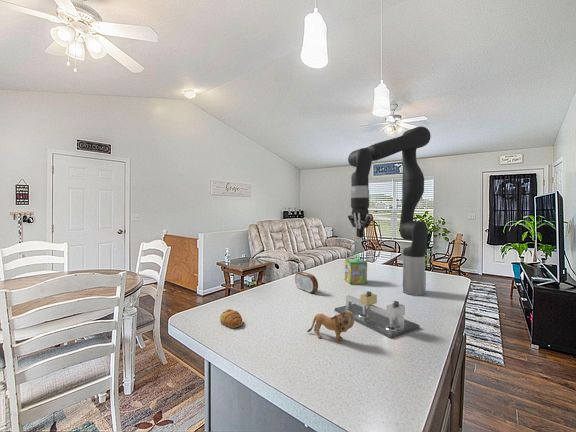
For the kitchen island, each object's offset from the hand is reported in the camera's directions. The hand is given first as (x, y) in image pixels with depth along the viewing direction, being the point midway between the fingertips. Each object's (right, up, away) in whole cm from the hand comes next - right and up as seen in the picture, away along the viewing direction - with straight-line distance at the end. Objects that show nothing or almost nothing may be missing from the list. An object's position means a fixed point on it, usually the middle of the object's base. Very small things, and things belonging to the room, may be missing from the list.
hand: (360, 237), depth 119 cm
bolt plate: (0, -27, -20) cm, 34 cm away
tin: (-22, -27, +14) cm, 37 cm away
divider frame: (-1, -26, -20) cm, 33 cm away
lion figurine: (-18, -28, -34) cm, 47 cm away
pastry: (-50, -28, -23) cm, 61 cm away
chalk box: (+5, -26, +28) cm, 39 cm away
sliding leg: (-2, -25, -19) cm, 32 cm away
